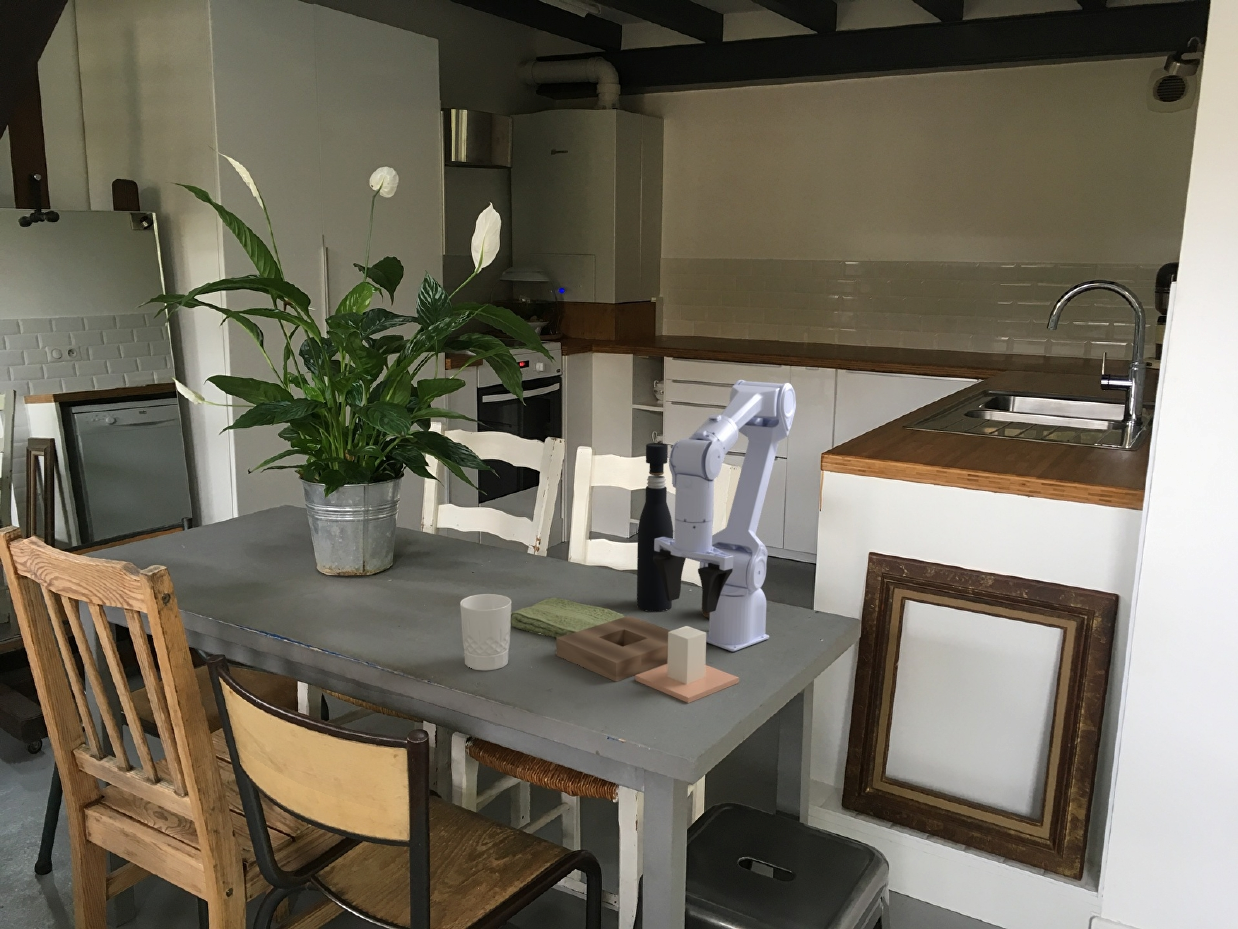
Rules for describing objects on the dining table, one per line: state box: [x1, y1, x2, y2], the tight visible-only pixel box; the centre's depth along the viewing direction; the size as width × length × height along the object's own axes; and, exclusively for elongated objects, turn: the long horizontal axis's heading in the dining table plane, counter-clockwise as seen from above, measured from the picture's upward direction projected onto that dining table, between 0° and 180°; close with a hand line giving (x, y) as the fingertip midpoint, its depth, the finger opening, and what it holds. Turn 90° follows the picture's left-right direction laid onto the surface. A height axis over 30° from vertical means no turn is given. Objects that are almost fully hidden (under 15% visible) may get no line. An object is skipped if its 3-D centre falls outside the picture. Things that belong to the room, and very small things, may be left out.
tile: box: [634, 663, 740, 704], centre depth 156 cm, size 11×11×1 cm
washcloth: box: [511, 597, 625, 638], centre depth 179 cm, size 13×18×3 cm
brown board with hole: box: [555, 615, 671, 682], centre depth 165 cm, size 16×14×3 cm
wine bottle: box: [636, 442, 674, 612], centre depth 187 cm, size 6×6×30 cm
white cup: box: [459, 593, 512, 671], centre depth 161 cm, size 8×8×10 cm
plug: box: [667, 625, 707, 684], centre depth 155 cm, size 4×4×7 cm
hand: (691, 605), depth 158 cm, fingers open, 7 cm apart
